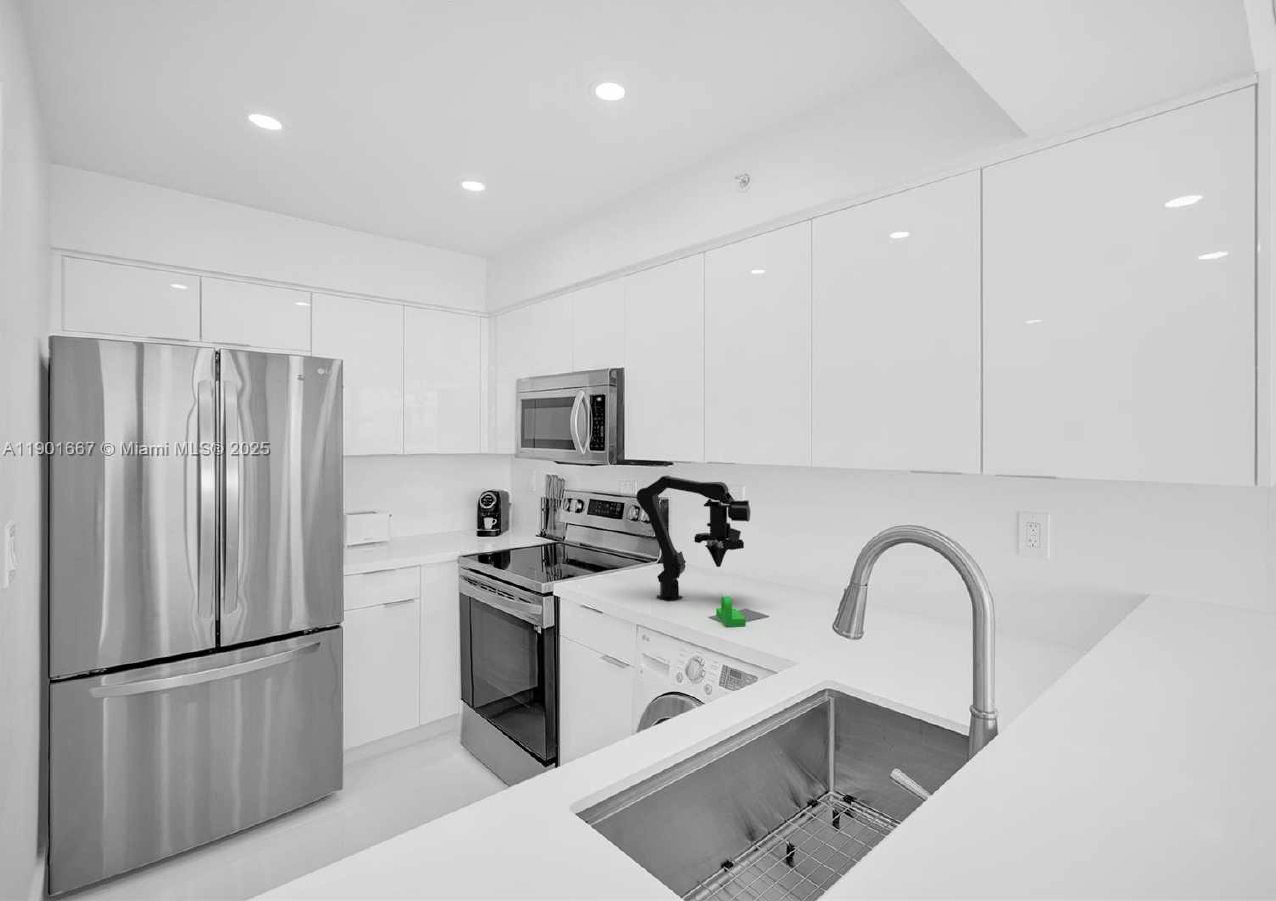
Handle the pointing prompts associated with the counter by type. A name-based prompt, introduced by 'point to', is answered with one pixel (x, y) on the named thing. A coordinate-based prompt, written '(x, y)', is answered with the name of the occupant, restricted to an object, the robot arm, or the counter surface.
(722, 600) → the mechanical part
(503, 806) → the counter surface
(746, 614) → the tool mat
